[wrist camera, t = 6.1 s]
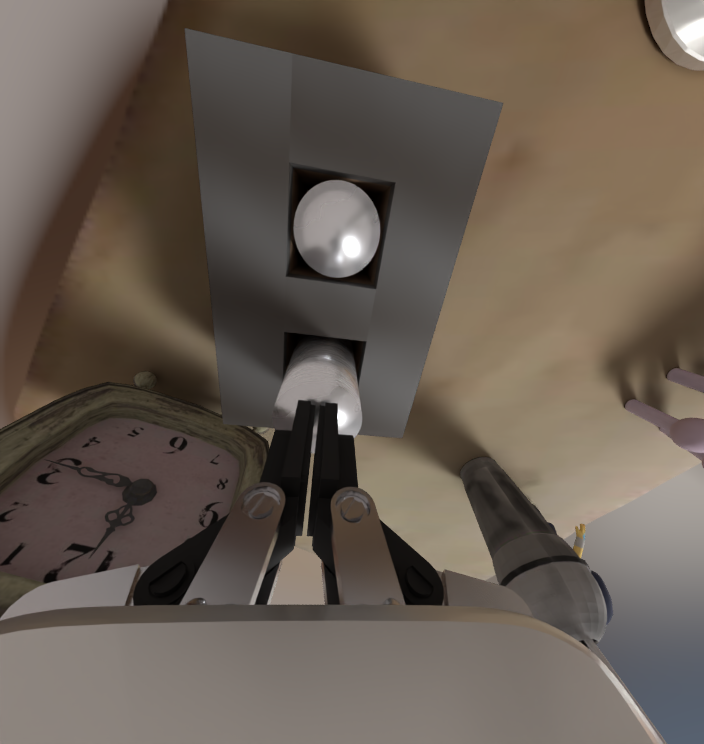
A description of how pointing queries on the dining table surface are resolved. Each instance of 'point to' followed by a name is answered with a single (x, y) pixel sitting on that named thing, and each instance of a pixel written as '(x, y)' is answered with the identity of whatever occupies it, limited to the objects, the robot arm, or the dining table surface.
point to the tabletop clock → (114, 481)
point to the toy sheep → (686, 433)
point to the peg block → (287, 188)
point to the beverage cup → (536, 559)
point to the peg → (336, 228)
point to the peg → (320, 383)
